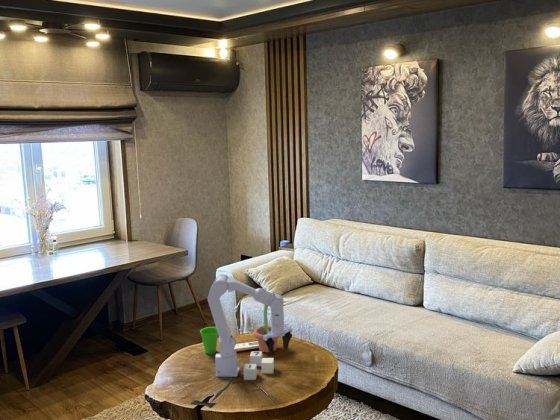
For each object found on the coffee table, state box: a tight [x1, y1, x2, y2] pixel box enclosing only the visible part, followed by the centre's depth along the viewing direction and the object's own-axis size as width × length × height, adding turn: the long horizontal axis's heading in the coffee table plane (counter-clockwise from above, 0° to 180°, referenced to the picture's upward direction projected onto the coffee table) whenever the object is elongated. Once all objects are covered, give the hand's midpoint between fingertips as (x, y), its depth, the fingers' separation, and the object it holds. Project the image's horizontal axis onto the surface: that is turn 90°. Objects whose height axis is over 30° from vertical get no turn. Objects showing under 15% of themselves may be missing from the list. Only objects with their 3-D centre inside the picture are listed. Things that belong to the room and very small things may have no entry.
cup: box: [199, 326, 219, 355], centre depth 274 cm, size 9×9×11 cm
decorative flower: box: [252, 304, 282, 353], centre depth 272 cm, size 15×14×30 cm
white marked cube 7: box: [249, 350, 263, 367], centre depth 259 cm, size 5×5×5 cm
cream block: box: [260, 357, 275, 374], centre depth 252 cm, size 5×5×5 cm
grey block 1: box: [243, 363, 258, 381], centre depth 247 cm, size 5×5×5 cm
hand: (278, 351), depth 249 cm, fingers open, 7 cm apart
